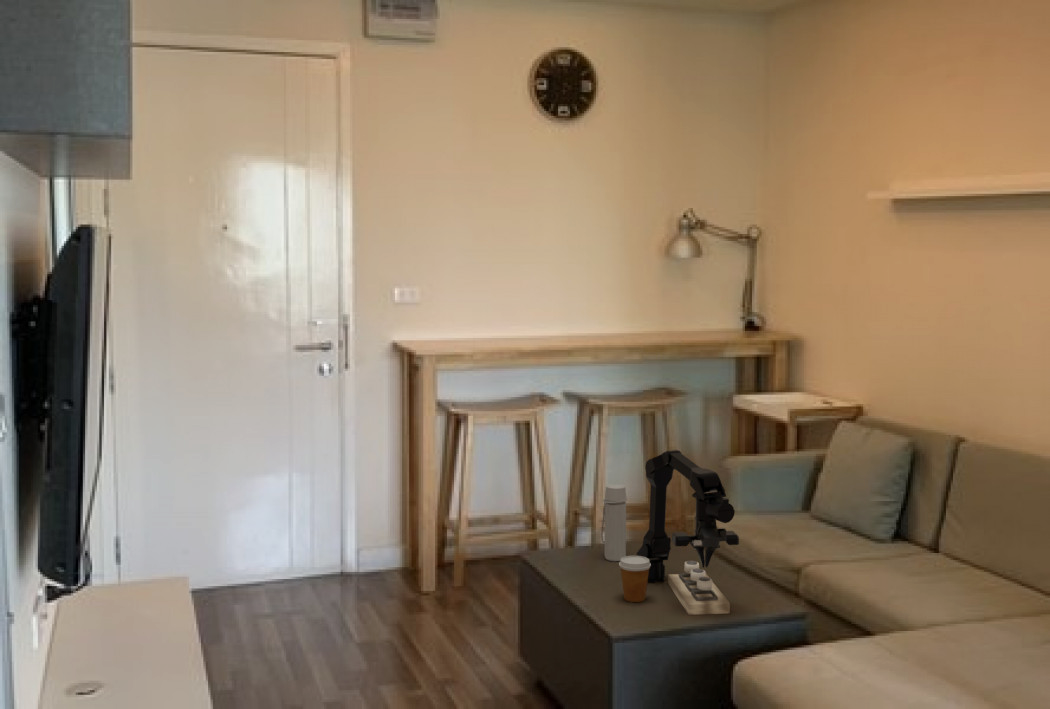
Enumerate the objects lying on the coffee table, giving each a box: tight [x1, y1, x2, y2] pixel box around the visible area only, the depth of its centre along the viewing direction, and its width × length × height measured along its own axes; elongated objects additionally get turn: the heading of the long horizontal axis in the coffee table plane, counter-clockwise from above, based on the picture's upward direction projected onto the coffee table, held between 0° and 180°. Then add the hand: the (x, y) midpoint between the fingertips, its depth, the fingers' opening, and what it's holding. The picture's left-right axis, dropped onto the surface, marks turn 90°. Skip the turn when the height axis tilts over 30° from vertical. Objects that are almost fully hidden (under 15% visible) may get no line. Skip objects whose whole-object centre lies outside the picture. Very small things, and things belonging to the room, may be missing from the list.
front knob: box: [697, 576, 713, 590], centre depth 313 cm, size 4×4×3 cm
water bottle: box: [600, 483, 627, 562], centre depth 361 cm, size 9×8×25 cm
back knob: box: [684, 560, 700, 574], centre depth 329 cm, size 4×4×3 cm
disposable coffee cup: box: [618, 555, 651, 603], centre depth 321 cm, size 10×10×12 cm
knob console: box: [667, 572, 731, 616], centre depth 321 cm, size 12×28×4 cm, turn 4°
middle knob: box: [690, 568, 706, 581], centre depth 321 cm, size 4×4×3 cm
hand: (704, 567), depth 312 cm, fingers closed
